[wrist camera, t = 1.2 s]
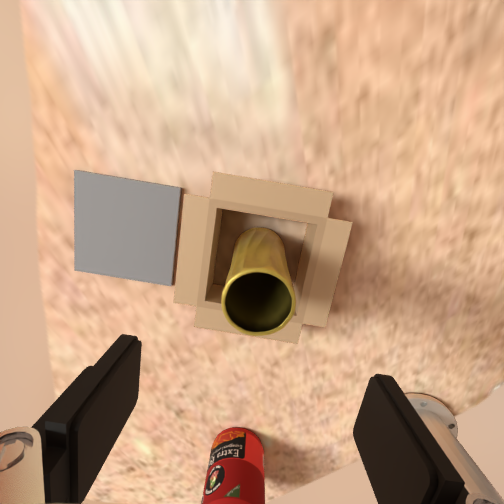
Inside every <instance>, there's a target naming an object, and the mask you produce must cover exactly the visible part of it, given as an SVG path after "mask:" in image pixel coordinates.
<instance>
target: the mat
mask: <svg viewBox="0 0 504 504" xmlns="http://www.w3.org/2000/svg"><path fill="white" fill-rule="evenodd" d="M181 189H182V188H179V187H174V186H168V185H162V184H156V183H150V182H144V181H138V180H132V179H126V178H120V177H114V176H109V175H103V174H97V173H91V172H85V171H79V170H74V234H75V271H81V272H87V273H93V274H99V275H106V276H112V277H118V278H124V279H130V280H136V281H142V282H148V283H154V284H160V285H166V286H172V283H173V273H174V262H175V252H176V241H177V231H178V220H179V210H180V199H181Z"/></svg>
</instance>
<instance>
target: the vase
mask: <svg viewBox="0 0 504 504" xmlns="http://www.w3.org/2000/svg"><path fill="white" fill-rule="evenodd" d="M221 306H222V311H223V314H224V316H225V318H226V320H227V321H228V322H229V324H230V325H232V326H233V327H234V328H235V329H237V330H238V331H240V332H241V333H244V334H247V335H251V336H264V335H270V334H273V333H275V332H278V331H280V330H281V329H283V328H284V327H285V326H286V325H287V324H288V322H289V321H290V320H291V318H292V317H293V315H294V312H295V308H296V296H295V290H294V288H293V284H292V281H291V277H290V274H289V271H288V266H287V262H286V257H285V251H284V245H283V242H282V240H281V239H280V237H279V236H278V235H277V234H276V233H275V232H273V231H272V230H270V229H267V228H252V229H249V230H247V231H245V232H243V233H242V234H241V235H240V236H239V237H238V239H237V240H236V242H235V245H234V251H233V258H232V263H231V268H230V270H229V273H228V276H227V279H226V284H225V287H224V289H223V291H222V299H221Z"/></svg>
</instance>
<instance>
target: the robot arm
mask: <svg viewBox="0 0 504 504" xmlns="http://www.w3.org/2000/svg"><path fill="white" fill-rule="evenodd" d="M141 346H142V342H141V341H139V340H138V338H137V336H132V335H125V334H122V335H121V336H120V337H119V338H118V339H117V340H116V341H115V342H114V343H113V344H112V346H111V347H110V348H109V349H108V350H107V351H106V352H105V354H104V355H103V356H102V357H101V358H100V359H99V360H98V361H97V363H96V364H95V365H94V366H88V367H87V368H86V369H84V370H83V371H82V373H81V374H80V375H79V376H78V377H77V378H76V379H75V380H74V381H73V382H72V383H71V385H70V386H69V387H68V388H67V389H66V390H65V391H64V392H63V393H62V394H61V396H60V397H59V398H58V399H57V400H56V401H55V402H54V403H53V404H52V405H51V406H50V408H49V409H48V410H47V411H46V412H45V413H44V414H43V415H42V416H41V417H40V418H39V420H38V421H37V422H36V423H35V424H34V425H33V426H32V427H15V428H12V429H8V430H5V431H3V432H0V504H81V503H82V502H83V501H84V499H85V497H86V495H87V494H88V492H89V490H90V488H91V486H92V484H93V482H94V481H95V479H96V477H97V475H98V473H99V471H100V470H101V468H102V466H103V464H104V462H105V460H106V459H107V457H108V455H109V453H110V451H111V449H112V448H113V446H114V444H115V442H116V440H117V438H118V436H119V435H120V433H121V431H122V429H123V427H124V425H125V424H126V422H127V420H128V418H129V416H130V414H131V413H132V411H133V409H134V407H135V405H136V402H137V399H138V392H139V376H140V361H141ZM457 433H458V428H457V423H456V420H455V418H454V416H453V414H452V413H451V412H450V410H449V409H448V408H447V407H446V406H445V405H444V404H443V403H442V402H440V401H439V400H437V399H436V398H433V397H431V396H428V395H423V394H413V393H410V394H404V393H403V391H402V390H401V388H400V387H399V385H398V384H397V382H396V381H395V380H394V378H393V377H392V376H389V375H382V374H375V375H374V377H371V378H370V380H369V383H368V386H367V389H366V392H365V395H364V398H363V401H362V404H361V407H360V410H359V413H358V416H357V419H356V422H355V425H354V428H353V436H354V440H355V443H356V445H357V448H358V451H359V453H360V456H361V459H362V461H363V464H364V467H365V470H366V472H367V475H368V477H369V480H370V483H371V486H372V488H373V491H374V494H375V496H376V499H377V502H378V504H504V500H503V499H502V497H501V496H500V495H499V493H498V492H497V491H496V489H495V488H494V487H493V486H492V484H491V483H490V482H489V480H488V479H487V478H486V476H485V475H484V474H483V473H482V471H481V470H480V469H479V467H478V466H477V465H476V463H475V462H474V461H473V459H472V458H471V457H470V456H469V454H468V453H467V452H466V450H465V449H464V448H463V446H462V445H461V444H460V443H459V441H458V440H457V439H456V438H457Z"/></svg>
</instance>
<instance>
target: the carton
mask: <svg viewBox="0 0 504 504" xmlns="http://www.w3.org/2000/svg"><path fill="white" fill-rule="evenodd" d="M333 193H334V192H330V191H324V190H319V189H313V188H307V187H301V186H295V185H289V184H283V183H277V182H272V181H266V180H260V179H254V178H248V177H242V176H236V175H230V174H225V173H219V172H213V175H212V184H211V192H210V198H208V197H202V196H196V195H190V194H184V201H183V211H182V221H181V231H180V241H179V251H178V262H177V272H176V282H175V292H174V302H173V303H178V304H184V305H190V306H196V314H195V323H194V327H197V328H203V329H209V330H215V331H221V332H228V333H234V334H240V335H246V336H251V335H247V334H244V333H241V332H240V331H238V330H237V329H235V328H234V327H233V326H232V325H230V324H229V322H228V321H227V320H226V318H225V316H224V314H223V311H222V306H221V299H222V291H223V289H224V287H225V286H222V285H216V284H213V278H214V271H215V263H216V256H217V249H218V241H219V234H220V226H221V219H222V212H223V209H227V210H233V211H239V212H245V213H251V214H257V215H263V216H269V217H275V218H281V219H287V220H293V221H298V222H304V223H308V224H307V228H306V233H305V237H304V242H303V247H302V251H301V256H300V260H299V265H298V270H297V274H296V279H295V283H294V290H295V296H296V308H295V312H294V315H293V317H292V318H291V320H290V321H289V322H288V324H287V325H286V326H285V327H284V328H283V329H281V330H280V331H278V332H275V333H273V334H270V335H264V336H252V337H258V338H264V339H271V340H277V341H283V342H289V343H295V344H298V341H299V337H300V333H301V328H302V324H307V325H313V326H319V327H326V323H327V319H328V315H329V312H330V308H331V304H332V300H333V296H334V292H335V289H336V285H337V281H338V277H339V273H340V269H341V266H342V262H343V258H344V254H345V250H346V246H347V243H348V239H349V235H350V231H351V227H352V223H353V222H350V221H344V220H338V219H332V218H328V214H329V210H330V206H331V201H332V197H333Z"/></svg>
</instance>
